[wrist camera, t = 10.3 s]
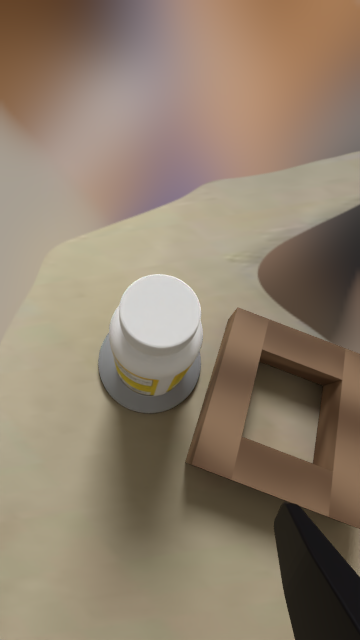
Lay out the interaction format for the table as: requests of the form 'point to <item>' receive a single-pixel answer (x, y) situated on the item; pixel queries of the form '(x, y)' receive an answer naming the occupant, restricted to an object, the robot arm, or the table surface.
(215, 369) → the holder block
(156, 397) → the grey oval disc
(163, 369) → the supplement bottle
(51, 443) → the table surface
